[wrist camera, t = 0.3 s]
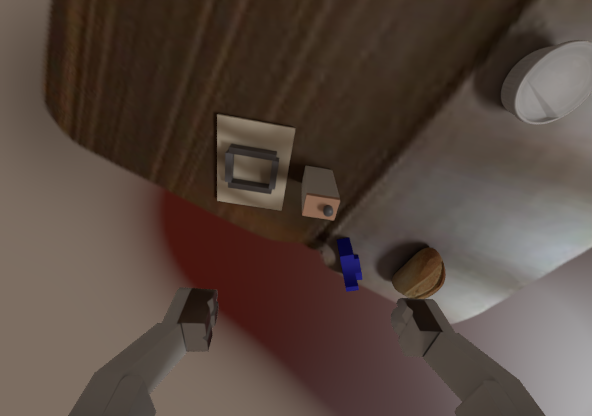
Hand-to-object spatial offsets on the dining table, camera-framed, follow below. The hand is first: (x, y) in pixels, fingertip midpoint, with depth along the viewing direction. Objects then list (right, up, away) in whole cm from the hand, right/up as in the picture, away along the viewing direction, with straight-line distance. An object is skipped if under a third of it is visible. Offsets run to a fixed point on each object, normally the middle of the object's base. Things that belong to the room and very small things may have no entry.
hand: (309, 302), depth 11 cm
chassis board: (-9, +13, +38) cm, 41 cm away
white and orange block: (+4, +11, +39) cm, 41 cm away
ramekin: (+38, +25, +30) cm, 54 cm away
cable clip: (+13, -8, +51) cm, 53 cm away
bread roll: (+30, -10, +53) cm, 61 cm away
